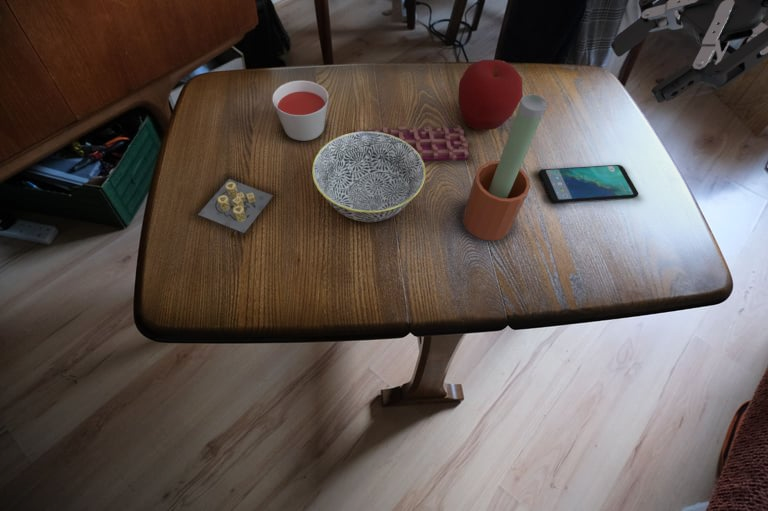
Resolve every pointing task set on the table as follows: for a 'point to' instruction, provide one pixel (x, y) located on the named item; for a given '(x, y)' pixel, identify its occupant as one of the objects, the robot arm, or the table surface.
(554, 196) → the smartphone
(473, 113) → the apple
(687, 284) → the table surface
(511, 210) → the pen cup
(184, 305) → the table surface
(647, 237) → the table surface
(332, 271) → the table surface
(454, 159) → the chocolate bar
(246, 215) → the gold tube cluster
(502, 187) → the green long cylinder
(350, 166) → the bowl
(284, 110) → the candle
